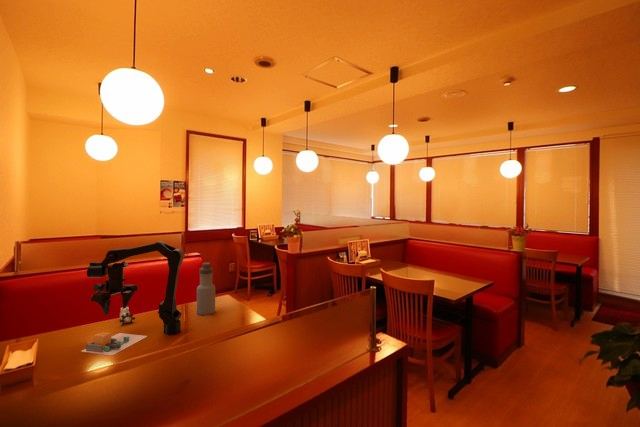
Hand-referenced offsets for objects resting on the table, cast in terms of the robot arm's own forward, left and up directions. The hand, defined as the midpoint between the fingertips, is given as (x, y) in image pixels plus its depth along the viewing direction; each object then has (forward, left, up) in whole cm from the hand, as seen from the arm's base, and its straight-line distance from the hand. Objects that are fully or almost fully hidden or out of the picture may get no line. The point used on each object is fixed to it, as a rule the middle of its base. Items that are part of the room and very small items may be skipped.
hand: (115, 311), depth 132 cm
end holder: (-5, +10, -11) cm, 16 cm away
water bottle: (-20, -39, -12) cm, 45 cm away
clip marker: (-9, +5, -11) cm, 15 cm away
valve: (+11, -16, -12) cm, 23 cm away
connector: (-8, +10, -11) cm, 17 cm away
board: (-7, +6, -12) cm, 15 cm away
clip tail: (-9, +10, -11) cm, 18 cm away
